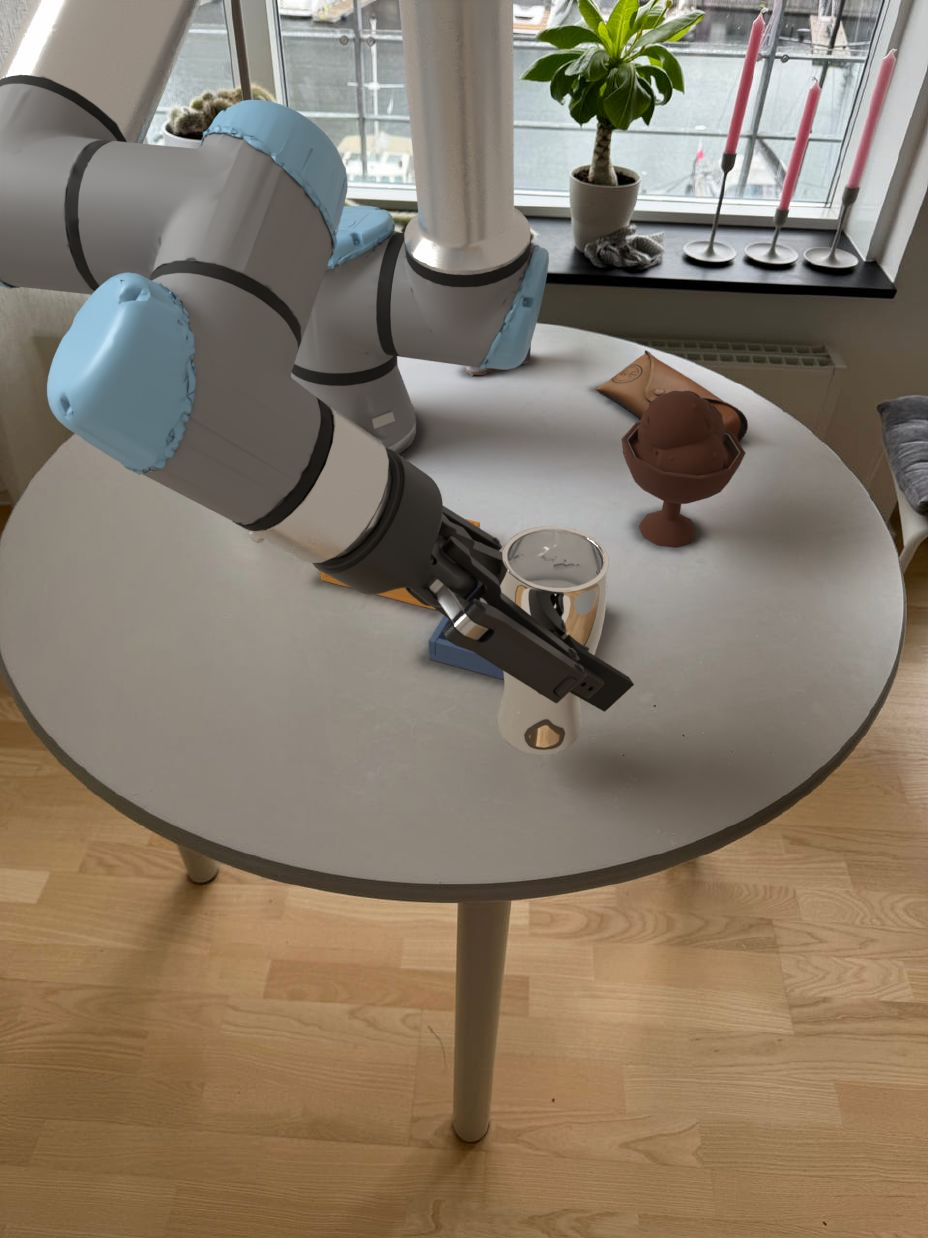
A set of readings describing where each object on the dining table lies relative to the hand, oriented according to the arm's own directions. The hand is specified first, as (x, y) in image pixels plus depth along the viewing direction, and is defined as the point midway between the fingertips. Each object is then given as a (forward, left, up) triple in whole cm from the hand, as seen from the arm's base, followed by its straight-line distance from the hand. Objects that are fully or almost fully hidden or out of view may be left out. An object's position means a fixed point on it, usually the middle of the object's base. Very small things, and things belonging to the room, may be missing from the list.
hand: (590, 656), depth 66 cm
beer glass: (-3, -2, -6) cm, 7 cm away
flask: (-27, +58, -10) cm, 64 cm away
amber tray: (-22, +17, -10) cm, 29 cm away
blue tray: (-9, +11, -10) cm, 17 cm away
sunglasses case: (-4, +53, -10) cm, 54 cm away
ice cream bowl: (0, +31, -10) cm, 32 cm away
